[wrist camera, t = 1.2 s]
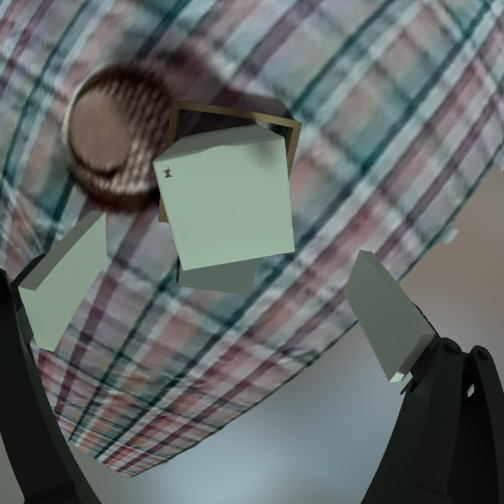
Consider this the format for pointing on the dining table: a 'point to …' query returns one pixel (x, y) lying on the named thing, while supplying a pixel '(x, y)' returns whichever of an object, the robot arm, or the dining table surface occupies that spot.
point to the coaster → (221, 277)
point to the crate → (178, 107)
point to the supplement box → (226, 195)
